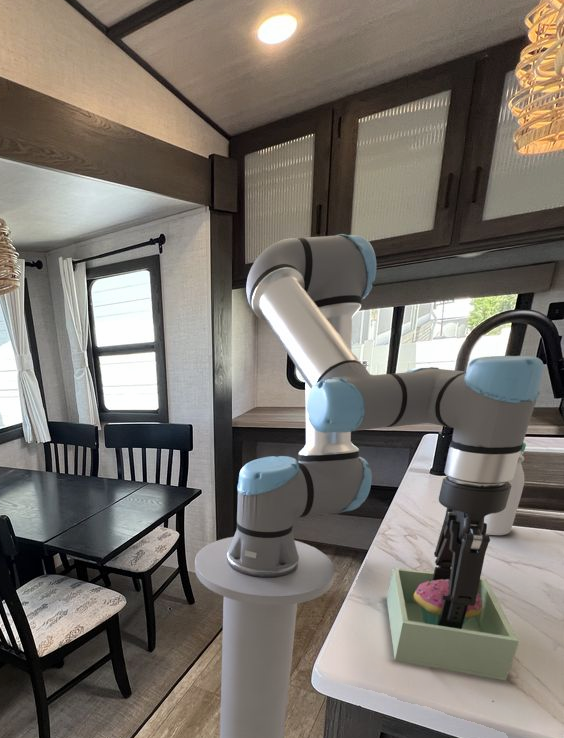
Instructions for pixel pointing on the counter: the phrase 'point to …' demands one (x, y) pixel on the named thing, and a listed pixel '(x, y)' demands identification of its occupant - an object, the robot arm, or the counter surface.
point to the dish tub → (449, 632)
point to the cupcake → (439, 601)
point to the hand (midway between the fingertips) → (441, 619)
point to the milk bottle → (504, 519)
